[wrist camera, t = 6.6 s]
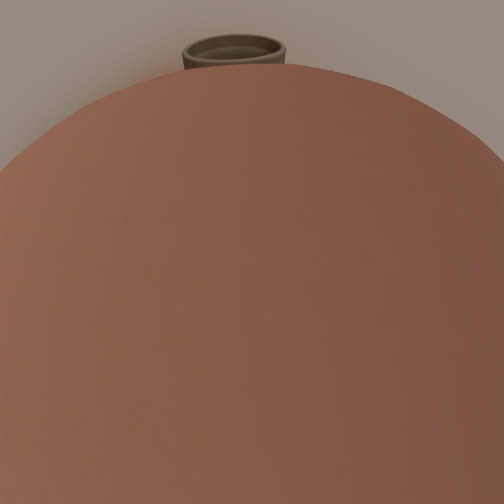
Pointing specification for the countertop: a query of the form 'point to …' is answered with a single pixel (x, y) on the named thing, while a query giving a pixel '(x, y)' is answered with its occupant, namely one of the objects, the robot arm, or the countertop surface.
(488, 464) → the coffee jar
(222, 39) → the flower pot
